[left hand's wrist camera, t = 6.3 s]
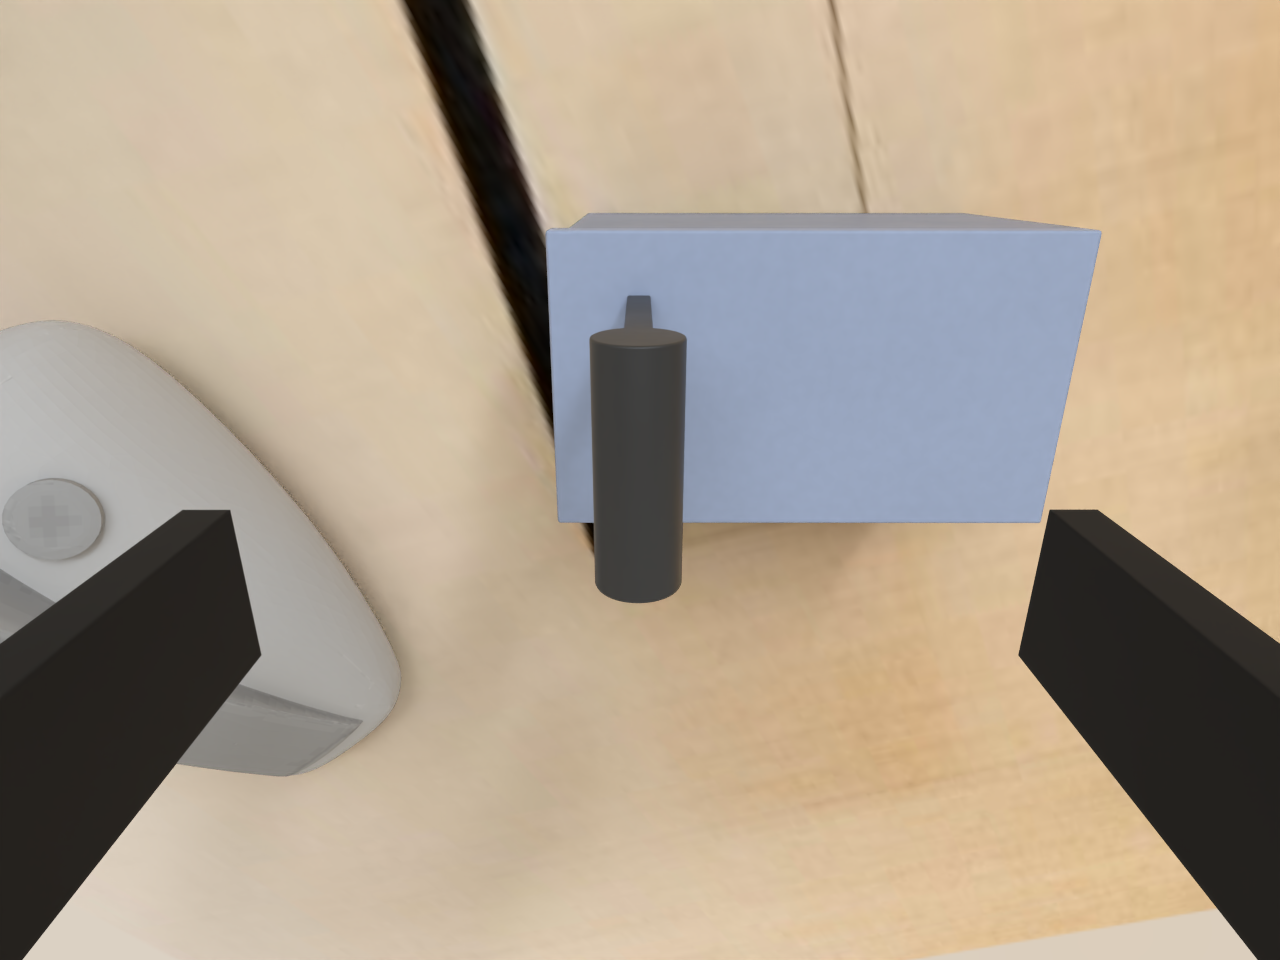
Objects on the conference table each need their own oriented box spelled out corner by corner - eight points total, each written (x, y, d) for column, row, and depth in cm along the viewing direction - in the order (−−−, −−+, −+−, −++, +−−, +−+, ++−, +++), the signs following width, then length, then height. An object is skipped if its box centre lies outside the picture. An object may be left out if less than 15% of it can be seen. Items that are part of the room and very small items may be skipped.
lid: (560, 510, 27) (523, 666, 18) (548, 227, 23) (496, 258, 15) (1026, 511, 27) (1204, 667, 18) (1084, 227, 23) (1336, 259, 15)
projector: (2, 723, 42) (-309, 991, 28) (-132, 291, 33) (-671, 373, 19) (414, 741, 42) (306, 1013, 28) (386, 319, 33) (213, 419, 20)
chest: (592, 428, 36) (576, 510, 27) (587, 213, 32) (567, 227, 23) (933, 428, 36) (1026, 510, 27) (964, 213, 32) (1083, 227, 23)
